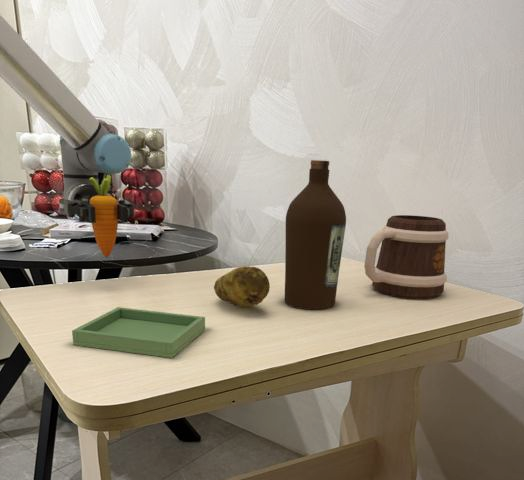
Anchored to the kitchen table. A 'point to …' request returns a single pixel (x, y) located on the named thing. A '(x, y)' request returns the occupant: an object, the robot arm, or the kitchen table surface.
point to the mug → (408, 257)
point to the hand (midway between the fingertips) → (109, 214)
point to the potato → (243, 286)
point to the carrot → (104, 216)
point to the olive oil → (314, 243)
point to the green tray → (140, 331)
